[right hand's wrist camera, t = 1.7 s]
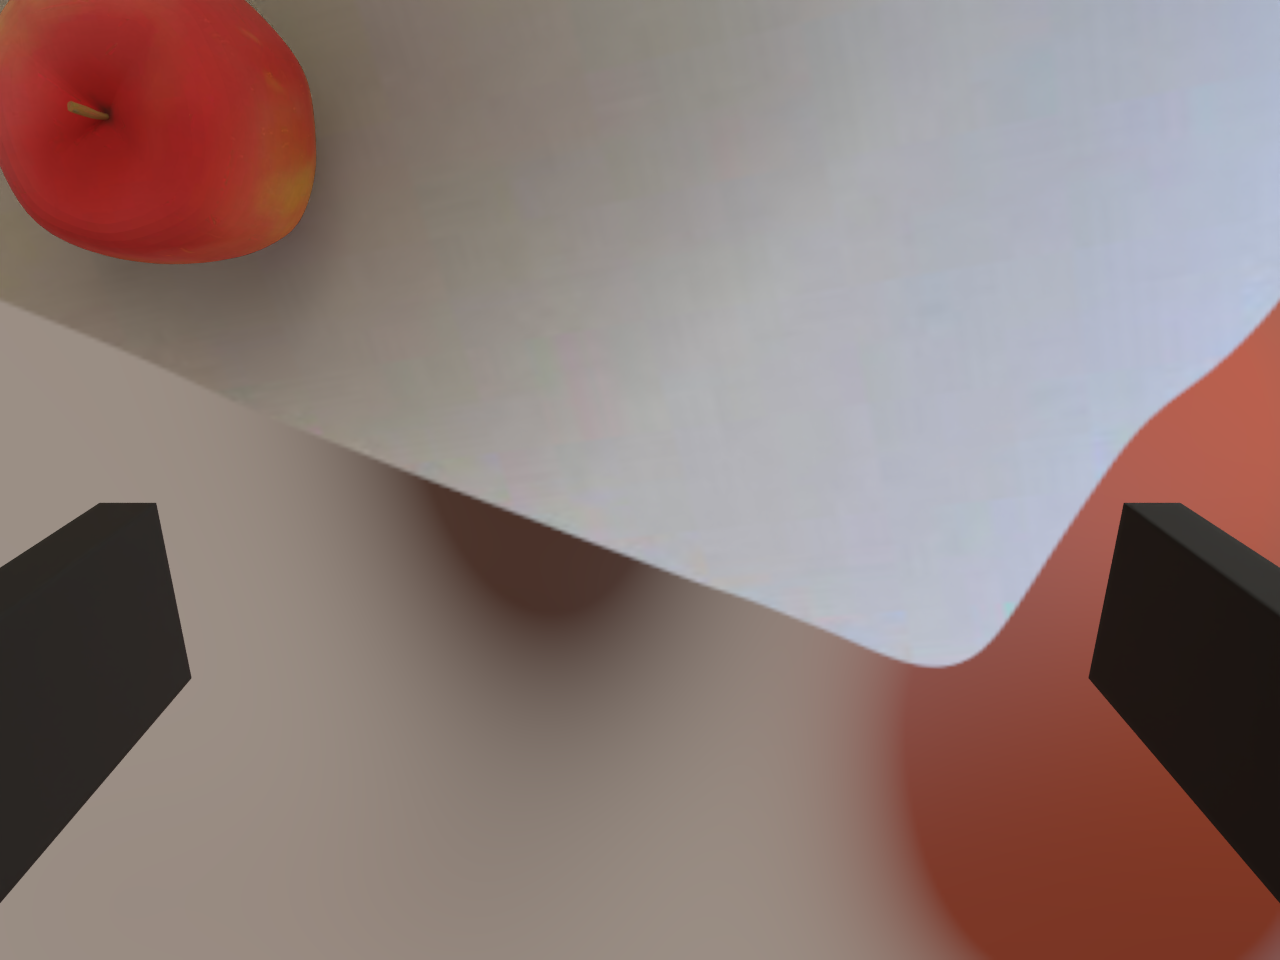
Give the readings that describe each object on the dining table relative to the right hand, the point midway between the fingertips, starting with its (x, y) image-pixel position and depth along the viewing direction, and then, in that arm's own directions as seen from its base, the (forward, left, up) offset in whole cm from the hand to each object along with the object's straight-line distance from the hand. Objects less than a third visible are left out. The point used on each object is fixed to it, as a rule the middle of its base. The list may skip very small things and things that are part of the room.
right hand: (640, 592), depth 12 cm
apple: (-1, -17, -26) cm, 31 cm away
